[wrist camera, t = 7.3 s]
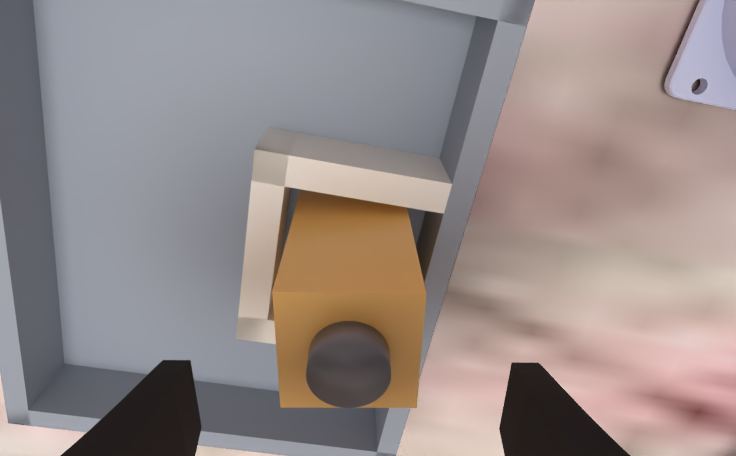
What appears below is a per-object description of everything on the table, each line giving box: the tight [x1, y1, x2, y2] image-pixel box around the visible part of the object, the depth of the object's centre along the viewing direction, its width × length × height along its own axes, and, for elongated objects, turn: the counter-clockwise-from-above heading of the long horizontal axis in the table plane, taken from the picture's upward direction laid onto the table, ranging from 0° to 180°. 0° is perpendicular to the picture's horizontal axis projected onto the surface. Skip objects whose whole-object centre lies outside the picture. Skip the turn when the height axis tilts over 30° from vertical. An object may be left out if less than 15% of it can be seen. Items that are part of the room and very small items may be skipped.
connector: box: [272, 189, 426, 408], centre depth 15 cm, size 4×4×8 cm
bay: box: [0, 0, 535, 456], centre depth 17 cm, size 15×18×3 cm
